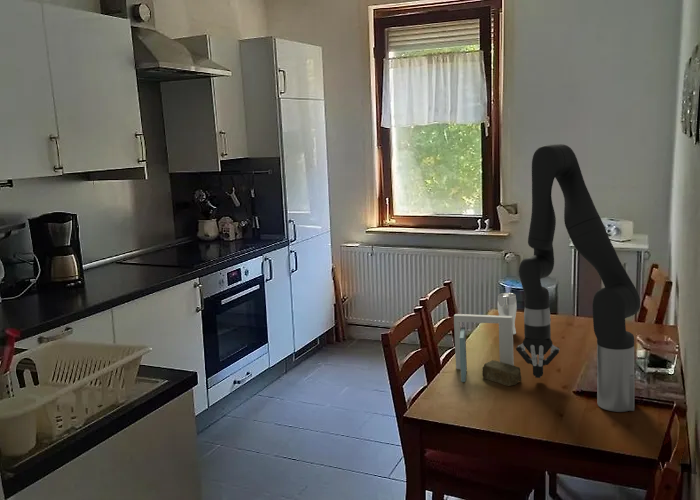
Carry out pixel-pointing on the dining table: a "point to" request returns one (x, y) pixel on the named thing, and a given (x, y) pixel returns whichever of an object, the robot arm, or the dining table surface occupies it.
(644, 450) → the dining table surface
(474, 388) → the dining table surface
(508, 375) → the stone block
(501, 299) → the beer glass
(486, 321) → the door frame
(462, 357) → the door
